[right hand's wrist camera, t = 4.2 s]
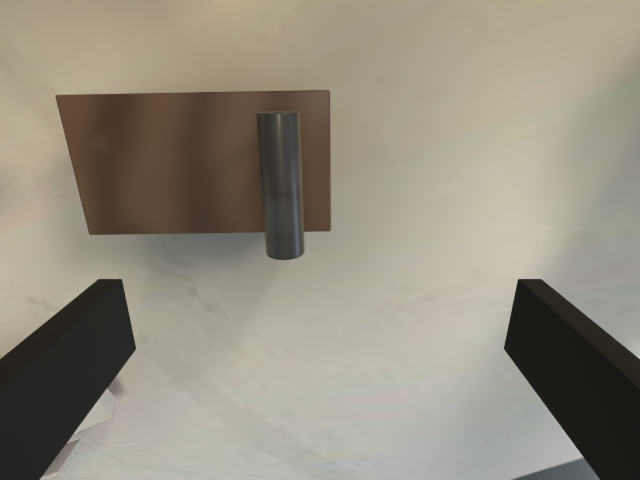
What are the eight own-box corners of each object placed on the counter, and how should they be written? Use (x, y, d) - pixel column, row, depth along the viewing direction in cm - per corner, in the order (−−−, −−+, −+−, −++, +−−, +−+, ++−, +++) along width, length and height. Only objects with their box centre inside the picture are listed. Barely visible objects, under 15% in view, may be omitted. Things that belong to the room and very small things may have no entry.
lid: (329, 90, 24) (334, 86, 16) (330, 227, 27) (334, 277, 20) (64, 95, 24) (-57, 93, 17) (96, 230, 28) (8, 282, 20)
